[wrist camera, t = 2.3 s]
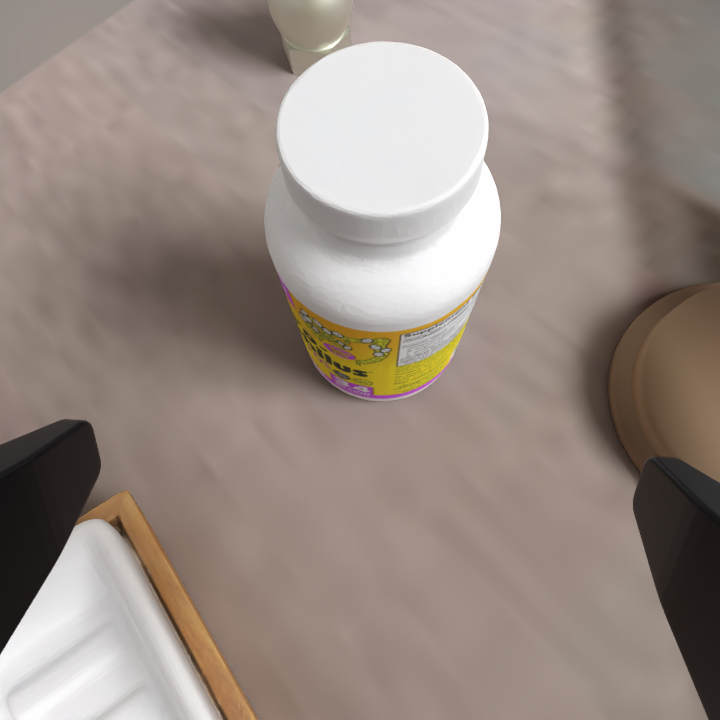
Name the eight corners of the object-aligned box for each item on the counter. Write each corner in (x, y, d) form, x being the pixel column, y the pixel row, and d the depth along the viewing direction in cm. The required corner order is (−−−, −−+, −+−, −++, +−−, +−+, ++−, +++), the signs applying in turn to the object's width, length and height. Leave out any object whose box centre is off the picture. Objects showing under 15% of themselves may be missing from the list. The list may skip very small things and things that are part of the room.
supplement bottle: (279, 313, 24) (175, 87, 12) (401, 241, 25) (418, -36, 13) (358, 436, 22) (330, 315, 10) (487, 354, 23) (602, 152, 11)
